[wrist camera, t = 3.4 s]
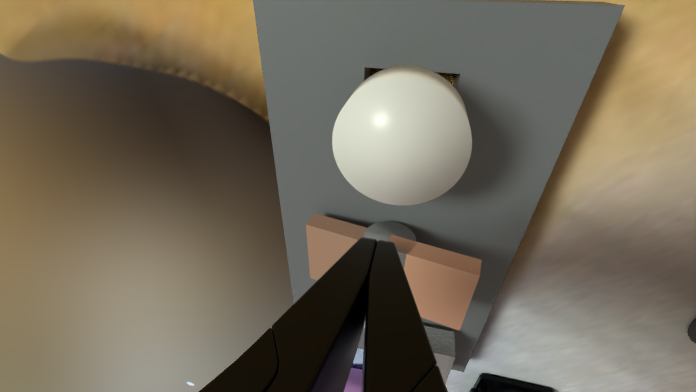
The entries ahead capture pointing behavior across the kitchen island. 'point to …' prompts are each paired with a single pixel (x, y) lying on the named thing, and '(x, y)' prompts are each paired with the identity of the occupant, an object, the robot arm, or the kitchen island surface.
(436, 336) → the small grey block
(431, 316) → the rocker
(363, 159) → the button
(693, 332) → the sundae
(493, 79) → the panel
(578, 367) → the kitchen island surface
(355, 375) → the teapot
